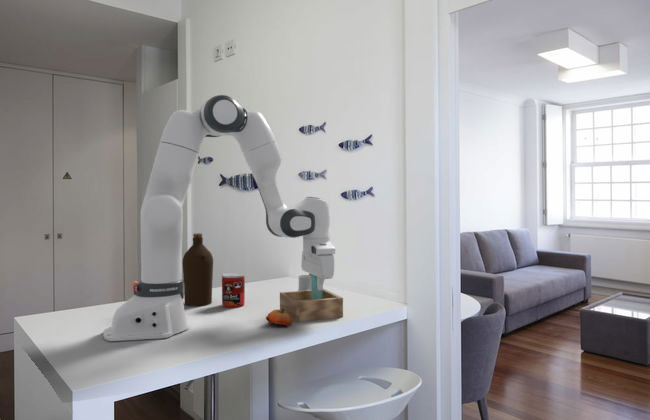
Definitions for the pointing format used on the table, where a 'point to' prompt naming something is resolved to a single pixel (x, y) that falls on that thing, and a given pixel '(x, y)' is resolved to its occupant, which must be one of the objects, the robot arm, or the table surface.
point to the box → (311, 305)
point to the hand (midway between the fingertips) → (316, 288)
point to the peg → (314, 292)
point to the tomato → (279, 317)
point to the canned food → (233, 290)
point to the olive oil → (197, 273)
